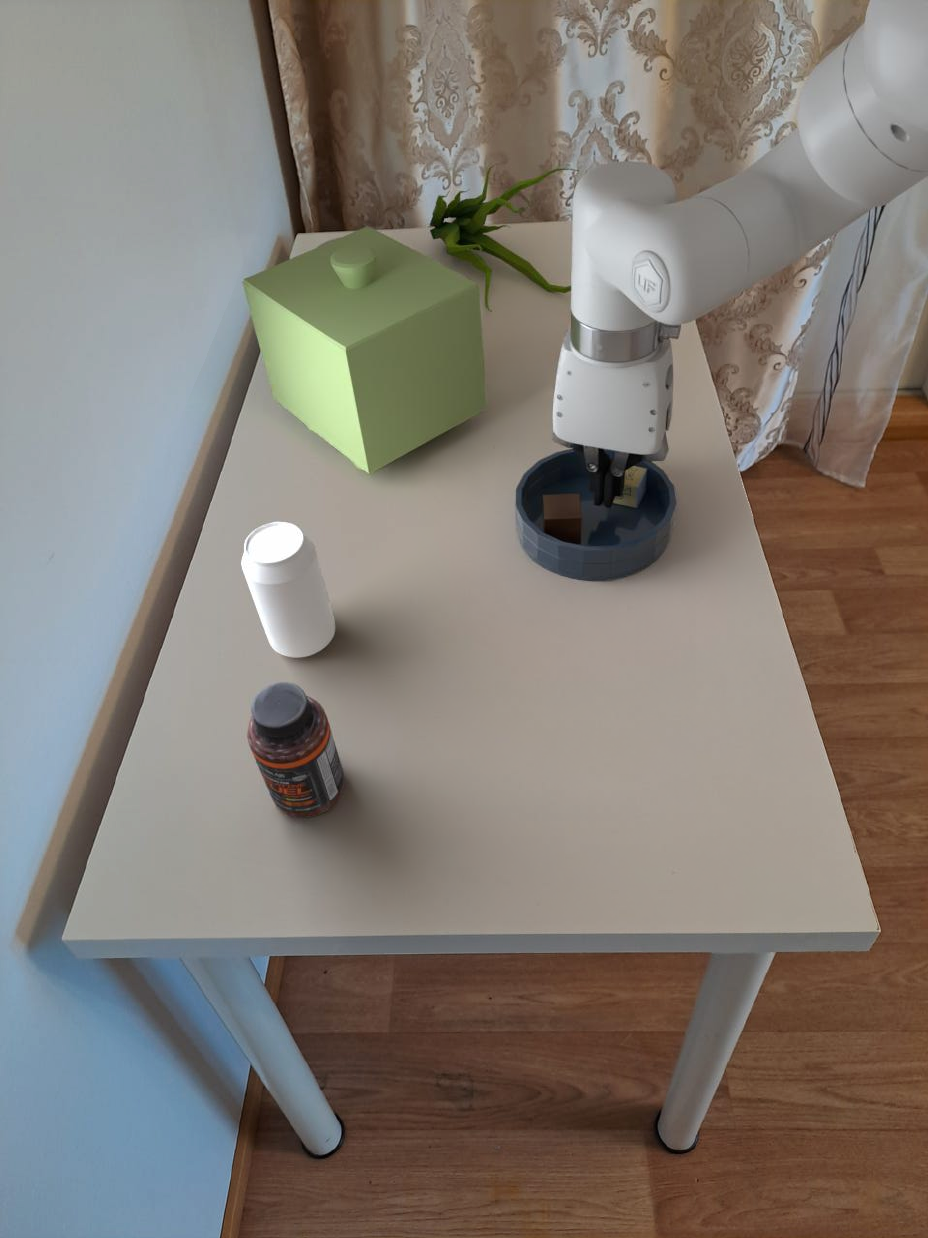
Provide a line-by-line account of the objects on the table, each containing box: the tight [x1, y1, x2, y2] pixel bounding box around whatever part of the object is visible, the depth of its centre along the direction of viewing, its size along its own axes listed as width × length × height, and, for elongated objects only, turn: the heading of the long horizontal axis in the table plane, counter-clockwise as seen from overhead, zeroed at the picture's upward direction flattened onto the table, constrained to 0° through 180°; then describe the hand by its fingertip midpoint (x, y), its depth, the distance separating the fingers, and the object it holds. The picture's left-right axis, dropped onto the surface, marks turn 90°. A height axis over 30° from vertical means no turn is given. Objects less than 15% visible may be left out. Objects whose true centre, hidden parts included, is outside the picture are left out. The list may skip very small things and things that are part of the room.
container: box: [242, 225, 488, 475], centre depth 97 cm, size 19×16×20 cm
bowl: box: [514, 448, 677, 582], centre depth 88 cm, size 15×15×4 cm
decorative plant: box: [429, 163, 580, 313], centre depth 118 cm, size 18×30×15 cm, turn 12°
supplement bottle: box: [246, 681, 345, 818], centre depth 68 cm, size 6×6×11 cm
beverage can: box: [241, 521, 336, 658], centre depth 78 cm, size 6×6×12 cm
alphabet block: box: [613, 466, 647, 508], centre depth 90 cm, size 3×3×3 cm
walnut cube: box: [543, 494, 582, 545], centre depth 87 cm, size 4×4×4 cm
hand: (606, 497), depth 88 cm, fingers closed
